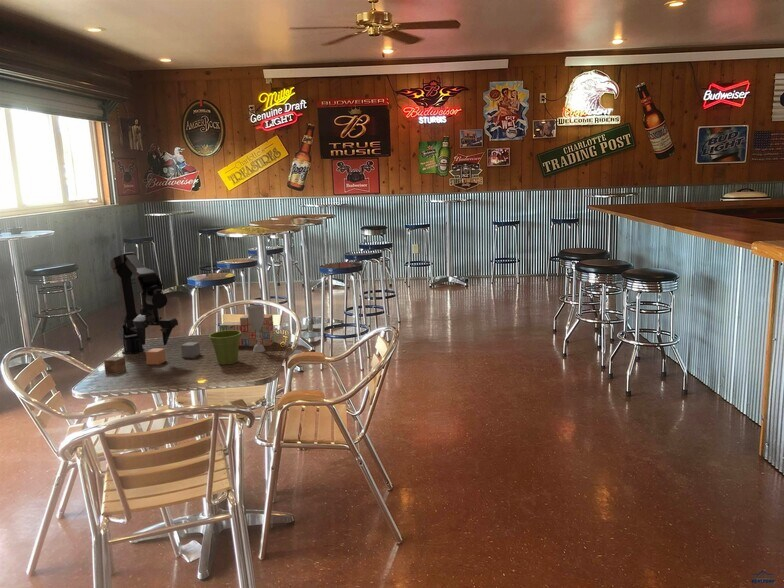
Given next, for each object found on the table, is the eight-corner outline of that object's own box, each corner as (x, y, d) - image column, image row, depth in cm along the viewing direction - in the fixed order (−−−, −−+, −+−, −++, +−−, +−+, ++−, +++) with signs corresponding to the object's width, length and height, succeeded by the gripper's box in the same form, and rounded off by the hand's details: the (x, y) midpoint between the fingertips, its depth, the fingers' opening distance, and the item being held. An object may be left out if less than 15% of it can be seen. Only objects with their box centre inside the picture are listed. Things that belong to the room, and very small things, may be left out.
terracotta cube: (146, 364, 232) (145, 351, 231) (154, 360, 237) (153, 348, 236) (158, 364, 231) (157, 352, 230) (166, 360, 236) (164, 348, 235)
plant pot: (219, 358, 236) (217, 330, 234) (248, 358, 235) (246, 329, 233) (206, 367, 225) (203, 337, 223) (236, 367, 223) (233, 337, 221)
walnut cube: (105, 373, 223) (103, 360, 222) (114, 369, 228) (112, 356, 227) (117, 373, 222) (115, 360, 221) (126, 369, 226) (124, 356, 226)
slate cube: (182, 357, 240) (181, 345, 239) (189, 354, 245) (187, 342, 244) (193, 357, 239) (192, 345, 238) (200, 354, 244) (199, 342, 243)
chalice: (247, 352, 242) (243, 308, 239) (253, 348, 249) (250, 305, 246) (264, 353, 241) (260, 308, 238) (270, 348, 248) (267, 305, 244)
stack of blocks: (221, 346, 255) (218, 318, 252) (226, 342, 261) (224, 314, 259) (270, 345, 252) (268, 317, 250) (274, 342, 259) (272, 313, 256)
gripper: (114, 309, 225) (119, 350, 227) (159, 309, 220) (164, 350, 223) (133, 303, 235) (137, 342, 238) (176, 303, 231) (180, 343, 234)
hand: (154, 344), depth 233 cm, fingers open, 9 cm apart
